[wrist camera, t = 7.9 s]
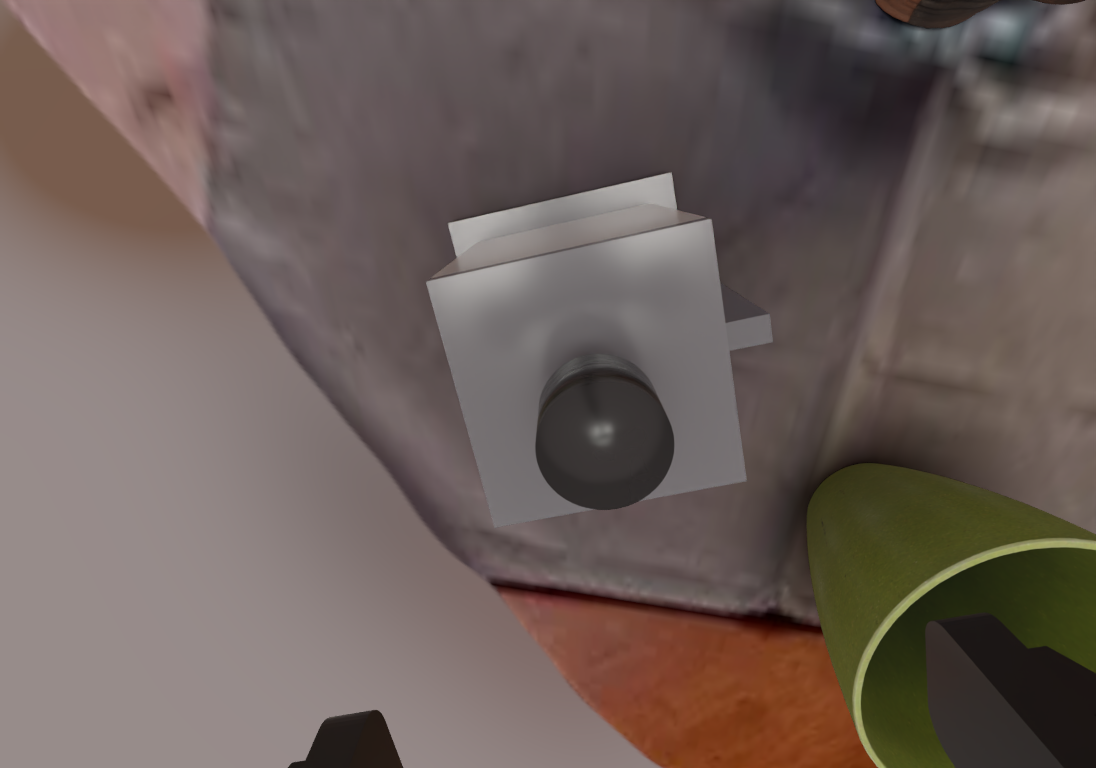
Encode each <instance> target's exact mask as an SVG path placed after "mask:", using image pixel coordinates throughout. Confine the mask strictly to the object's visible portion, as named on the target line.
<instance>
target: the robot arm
mask: <svg viewBox="0 0 1096 768" xmlns="http://www.w3.org/2000/svg"><path fill="white" fill-rule="evenodd" d="M925 639H926V665H927V691H928V708H929V713H930V717H931V720H932V724H933V727H934V729H935V732H936V734H937V737H938V739H939V741H940V743H941V745H942V747H943V749H944V751H945V752H946V754H947V756H948V757H949V759H950V760H951V762H952V763H953V765H954V766H955V768H1096V673H1094V672H1093V671H1091V670H1089V669H1087V668H1085V667H1084V666H1082V665H1080V664H1078V663H1076V662H1075V661H1073V660H1071V659H1069V658H1067V657H1066V656H1064V655H1062V654H1060V653H1058V652H1057V651H1055V650H1053V649H1051V648H1050V647H1048V646H1042V647H1035V648H1029V649H1028V648H1027V647H1026V646H1025V645H1024V644H1023V643H1022V642H1021V641H1020V640H1019V639H1018V638H1017V637H1016V636H1015V635H1014V634H1013V633H1012V632H1011V631H1010V630H1009V629H1008V628H1007V627H1006V626H1005V625H1004V624H1003V623H1002V622H1001V621H1000V620H998V619H997V618H996V617H995V616H993V615H992V614H989V613H985V612H984V613H977V614H971V615H965V616H959V617H953V618H947V619H941V620H935V621H930V622H928V623H927V626H926V630H925ZM288 768H403V766H402V763H401V761H400V758H399V756H398V753H397V750H396V748H395V745H394V742H393V740H392V737H391V735H390V732H389V729H388V727H387V724H386V721H385V719H384V717H383V715H382V714H381V713H380V712H379V711H378V710H372V711H366V712H359V713H354V714H347V715H342V716H335V717H330V718H327V719H326V720H325V721H324V722H323V723H322V725H321V727H320V729H319V731H318V733H317V735H316V738H315V740H314V742H313V744H312V747H311V750H310V751H309V754H308V756H307V758H306V761H300V762H294V763H291V764H290V766H289V767H288Z"/></svg>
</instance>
